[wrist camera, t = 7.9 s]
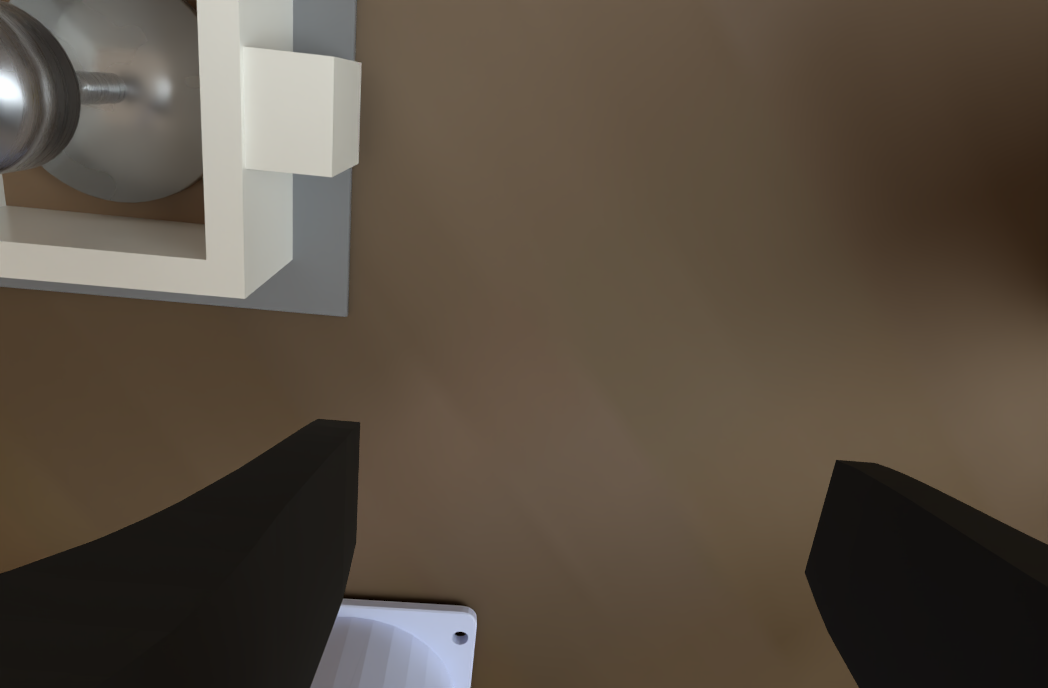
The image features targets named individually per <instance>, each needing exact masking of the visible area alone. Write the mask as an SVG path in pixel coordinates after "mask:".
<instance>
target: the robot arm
mask: <svg viewBox="0 0 1048 688" xmlns="http://www.w3.org/2000/svg"><path fill="white" fill-rule="evenodd" d="M359 440H360V422H350V421H337V420H325V419H317V420H315V421H313V422H311V423H310V424H308V425H306V426H305V427H303V428H302V429H300V430H298V431H297V432H295V433H294V434H292V435H291V436H289V437H288V438H286V439H285V440H283V441H282V442H280V443H278V444H277V445H275V446H274V447H272V448H271V449H269V450H268V451H266V452H264V453H263V454H261V455H260V456H258V457H256V458H255V459H253V460H252V461H250V462H249V463H247V464H245V465H244V466H242V467H241V468H239V469H237V470H236V471H234V472H232V473H230V474H229V475H227V476H225V477H223V478H221V479H220V480H218V481H216V482H214V483H213V484H211V485H209V486H207V487H205V488H204V489H202V490H200V491H198V492H196V493H195V494H193V495H191V496H189V497H187V498H186V499H184V500H182V501H180V502H178V503H176V504H174V505H172V506H170V507H168V508H166V509H164V510H162V511H160V512H158V513H156V514H154V515H152V516H150V517H148V518H146V519H143V520H141V521H139V522H136V523H134V524H132V525H130V526H127V527H125V528H123V529H120V530H118V531H116V532H114V533H111V534H109V535H107V536H104V537H102V538H99V539H97V540H94V541H92V542H89V543H86V544H83V545H81V546H78V547H75V548H72V549H69V550H67V551H64V552H61V553H58V554H55V555H53V556H50V557H47V558H44V559H41V560H39V561H36V562H33V563H30V564H27V565H25V566H22V567H19V568H16V569H13V570H10V571H7V572H4V573H1V574H0V688H470V686H471V677H472V667H473V657H474V647H475V637H476V628H477V616H476V613H475V612H474V610H472V609H471V608H469V607H466V606H459V605H442V604H426V603H409V602H393V601H376V600H359V599H343V596H344V592H345V588H346V584H347V580H348V575H349V571H350V567H351V562H352V558H353V553H354V549H355V545H356V530H357V500H358V470H359ZM805 574H806V577H807V580H808V583H809V585H810V588H811V591H812V593H813V596H814V599H815V602H816V604H817V607H818V609H819V611H820V614H821V616H822V619H823V621H824V623H825V626H826V628H827V631H828V633H829V634H830V636H831V638H832V640H833V642H834V644H835V646H836V647H837V649H838V651H839V653H840V655H841V656H842V658H843V660H844V662H845V663H846V665H847V667H848V669H849V671H850V672H851V674H852V676H853V678H854V679H855V681H856V683H857V685H858V686H859V688H1048V545H1047V544H1045V543H1043V542H1041V541H1039V540H1037V539H1035V538H1033V537H1031V536H1028V535H1026V534H1024V533H1022V532H1020V531H1018V530H1016V529H1014V528H1012V527H1010V526H1008V525H1006V524H1004V523H1002V522H1000V521H998V520H996V519H994V518H992V517H990V516H988V515H987V514H985V513H983V512H981V511H979V510H977V509H975V508H973V507H971V506H969V505H967V504H965V503H963V502H961V501H959V500H957V499H955V498H953V497H951V496H949V495H947V494H945V493H943V492H941V491H939V490H937V489H935V488H933V487H931V486H929V485H927V484H924V483H922V482H920V481H918V480H916V479H914V478H912V477H909V476H907V475H905V474H903V473H900V472H898V471H895V470H893V469H890V468H888V467H885V466H882V465H879V464H876V463H868V462H855V461H842V460H836V462H835V466H834V470H833V473H832V477H831V480H830V484H829V487H828V491H827V495H826V498H825V502H824V505H823V509H822V512H821V516H820V520H819V523H818V527H817V530H816V534H815V537H814V541H813V545H812V548H811V552H810V555H809V559H808V562H807V566H806V570H805ZM460 631H461V632H464V633H466V635H464V636H457V635H455V633H456V632H460Z"/></svg>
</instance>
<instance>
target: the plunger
mask: <svg viewBox="0 0 1048 688" xmlns="http://www.w3.org/2000/svg"><path fill="white" fill-rule="evenodd" d="M39 166H42V167H43V168H44V169H45V170H47V171H48V172H49V173H50V174H52V175H53V176H54V177H56V178H57V179H59V180H60V181H62V182H63V183H65V184H67V185H69V186H70V187H72V188H74V189H76V190H78V191H81V192H83V193H85V194H88V195H90V196H94V197H97V198H101V199H104V200H110V201H116V202H131V203H136V202H146V201H151V200H156V199H160V198H164V197H167V196H170V195H172V194H175V193H178V192H180V191H183V190H184V189H186V188H188V187H190V186H191V185H193V184H195V183H196V182H197V181H198V180H200V179H201V178H202V177H203V155H202V129H201V102H200V75H199V48H198V22H197V11H196V10H195V9H194V8H193V7H192V6H191V5H190V4H189V3H188V2H187V1H186V0H10V1H9V3H7V2H4V1H1V0H0V174H4V173H10V172H16V171H22V170H28V169H32V168H36V167H39Z"/></svg>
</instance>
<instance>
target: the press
mask: <svg viewBox="0 0 1048 688" xmlns="http://www.w3.org/2000/svg"><path fill="white" fill-rule="evenodd" d="M1 1H4V2H7V3H9V1H10V0H1ZM186 1H187V2H188V3H189V4H190V5H191V6H192V7H193V8H194V9H195V10H196V11H197V22H198V48H199V75H200V102H201V129H202V155H203V177H202V178H201V179H200V180H198V181H197V182H196V183H195V184H193V185H191V186H190V187H188V188H186V189H184V190H183V191H180V192H178V193H175V194H172V195H170V196H167V197H164V198H160V199H156V200H151V201H146V202H136V203H131V202H116V201H110V200H104V199H101V198H97V197H94V196H90V195H88V194H85V193H83V192H81V191H78V190H76V189H74V188H72V187H70V186H69V185H67V184H65V183H63V182H62V181H60V180H59V179H57V178H56V177H54V176H53V175H52V174H50V173H49V172H48V171H47V170H45V169H44V168H43V167H42V166H39V167H36V168H32V169H28V170H22V171H16V172H10V173H4V174H0V287H11V288H23V289H34V290H46V291H57V292H68V293H80V294H91V295H103V296H114V297H125V298H137V299H148V300H160V301H171V302H183V303H194V304H205V305H217V306H228V307H240V308H251V309H262V310H274V311H285V312H297V313H308V314H320V315H331V316H342V317H347V316H348V299H349V263H350V227H351V191H352V167H353V166H355V165H357V164H358V163H359V130H360V97H361V64H362V63H360V62H355V46H356V10H357V0H186Z"/></svg>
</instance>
